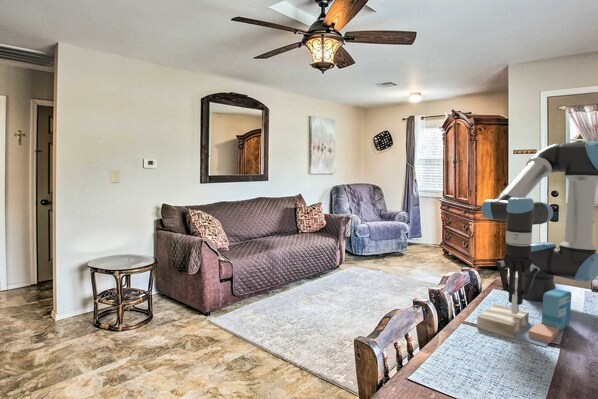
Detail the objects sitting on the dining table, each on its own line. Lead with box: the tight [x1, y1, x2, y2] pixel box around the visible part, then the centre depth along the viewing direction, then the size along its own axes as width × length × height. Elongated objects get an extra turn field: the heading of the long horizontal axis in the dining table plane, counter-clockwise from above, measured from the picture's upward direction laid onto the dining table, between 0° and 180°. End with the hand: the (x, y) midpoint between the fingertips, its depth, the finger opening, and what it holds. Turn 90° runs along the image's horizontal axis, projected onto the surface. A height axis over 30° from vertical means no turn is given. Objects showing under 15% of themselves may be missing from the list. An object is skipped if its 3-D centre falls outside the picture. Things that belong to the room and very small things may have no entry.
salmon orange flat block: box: [528, 322, 559, 344], centre depth 120 cm, size 9×6×2 cm, turn 134°
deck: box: [476, 303, 530, 339], centre depth 129 cm, size 17×11×4 cm, turn 134°
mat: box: [512, 321, 560, 348], centre depth 122 cm, size 17×9×1 cm, turn 134°
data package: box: [541, 288, 572, 332], centre depth 127 cm, size 12×4×12 cm, turn 127°
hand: (515, 312), depth 126 cm, fingers closed
